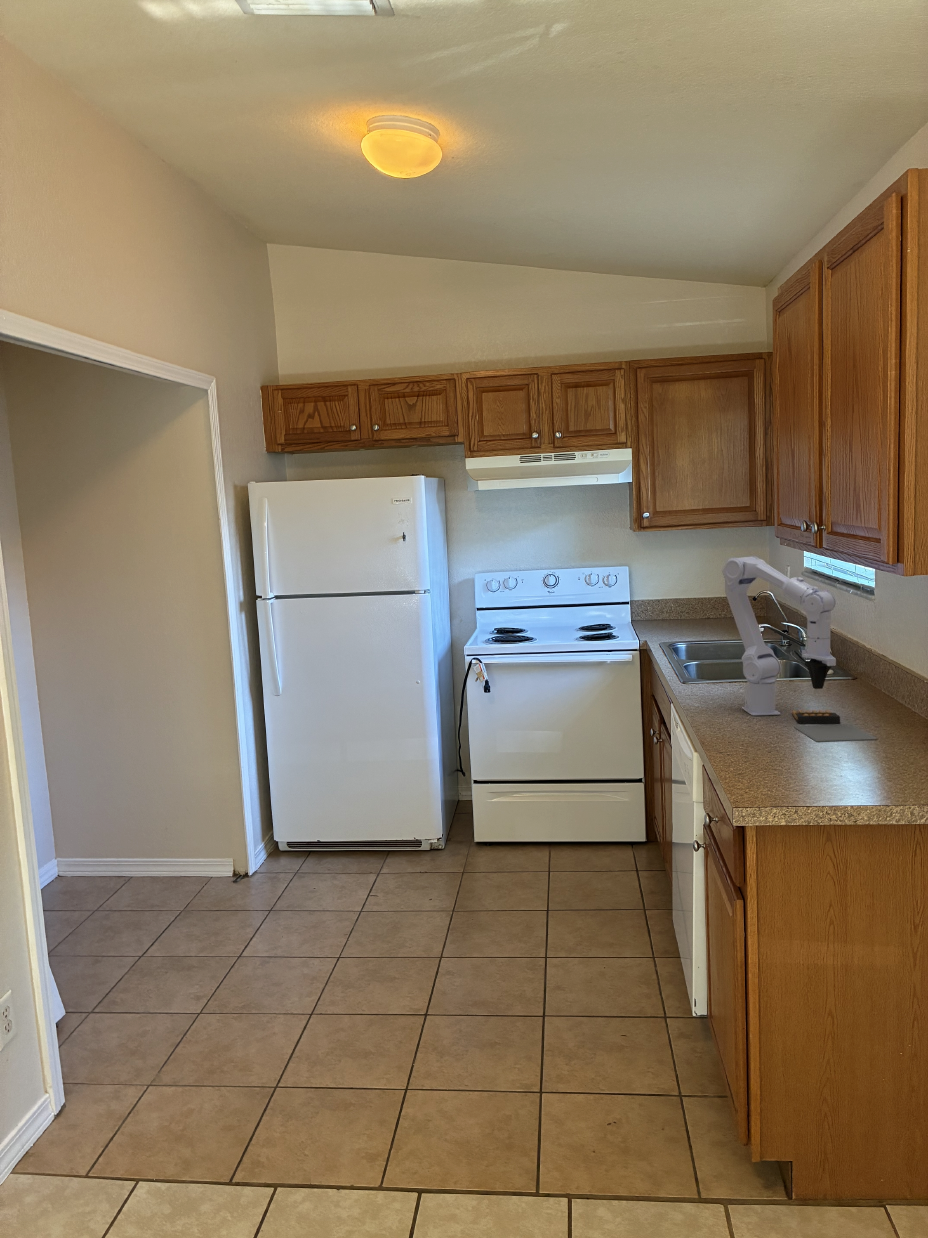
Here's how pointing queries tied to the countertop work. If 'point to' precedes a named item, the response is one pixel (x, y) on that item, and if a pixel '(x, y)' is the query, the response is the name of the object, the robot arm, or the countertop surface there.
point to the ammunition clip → (816, 717)
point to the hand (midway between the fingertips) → (817, 688)
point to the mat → (834, 733)
